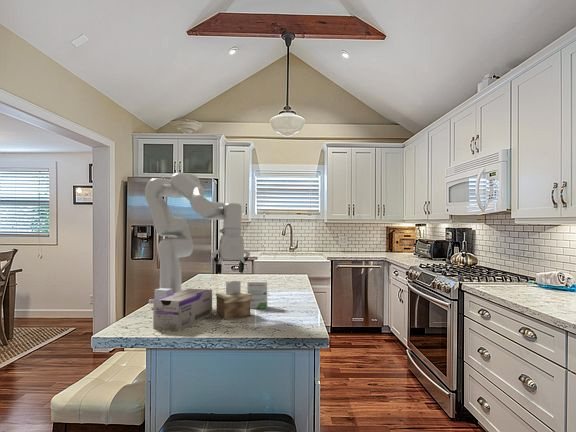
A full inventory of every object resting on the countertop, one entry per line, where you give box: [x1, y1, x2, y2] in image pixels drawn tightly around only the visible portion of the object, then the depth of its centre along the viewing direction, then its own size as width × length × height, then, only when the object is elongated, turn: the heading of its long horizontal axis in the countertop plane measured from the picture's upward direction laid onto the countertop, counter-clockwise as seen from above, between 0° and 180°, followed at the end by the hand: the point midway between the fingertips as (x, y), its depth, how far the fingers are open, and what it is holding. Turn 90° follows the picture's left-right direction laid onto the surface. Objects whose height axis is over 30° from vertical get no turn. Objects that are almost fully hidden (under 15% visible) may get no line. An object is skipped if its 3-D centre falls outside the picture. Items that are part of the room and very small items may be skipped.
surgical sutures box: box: [152, 288, 213, 332], centre depth 150 cm, size 25×11×11 cm, turn 164°
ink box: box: [246, 280, 268, 309], centre depth 175 cm, size 9×5×12 cm, turn 83°
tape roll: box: [225, 280, 242, 295], centre depth 159 cm, size 6×6×5 cm
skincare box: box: [153, 287, 173, 299], centre depth 153 cm, size 6×4×12 cm
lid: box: [215, 290, 252, 303], centre depth 159 cm, size 12×11×2 cm
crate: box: [216, 296, 251, 321], centre depth 159 cm, size 11×10×8 cm
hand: (230, 272), depth 161 cm, fingers open, 9 cm apart
